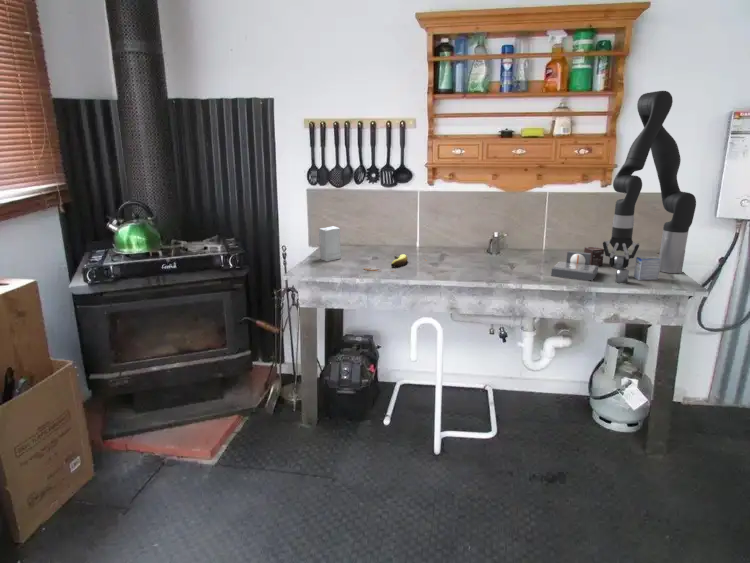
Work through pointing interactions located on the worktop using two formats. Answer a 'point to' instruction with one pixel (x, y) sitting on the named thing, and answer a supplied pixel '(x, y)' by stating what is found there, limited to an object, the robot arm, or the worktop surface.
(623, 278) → the spacer
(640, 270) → the medicine box
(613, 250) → the robot arm
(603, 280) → the worktop surface
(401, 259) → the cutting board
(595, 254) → the box
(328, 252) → the skincare box
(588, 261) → the dial scale
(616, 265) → the spacer
